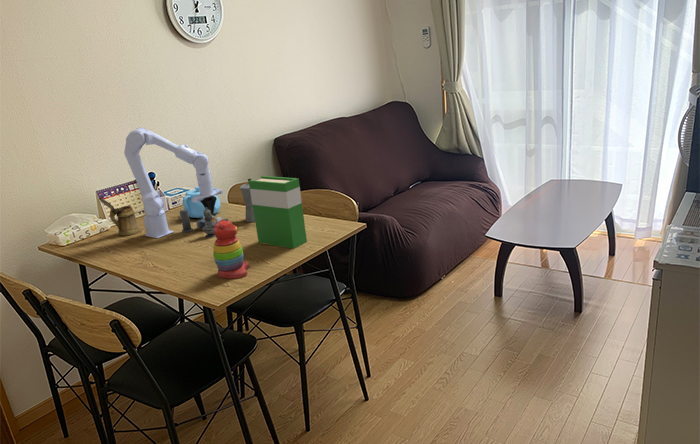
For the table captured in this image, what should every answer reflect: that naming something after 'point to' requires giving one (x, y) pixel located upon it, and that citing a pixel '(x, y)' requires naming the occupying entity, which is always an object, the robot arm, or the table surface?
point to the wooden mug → (123, 219)
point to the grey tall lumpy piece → (208, 224)
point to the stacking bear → (228, 251)
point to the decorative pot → (197, 204)
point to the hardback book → (278, 211)
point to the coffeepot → (248, 202)
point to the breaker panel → (215, 220)
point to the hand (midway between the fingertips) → (211, 214)
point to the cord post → (185, 221)
